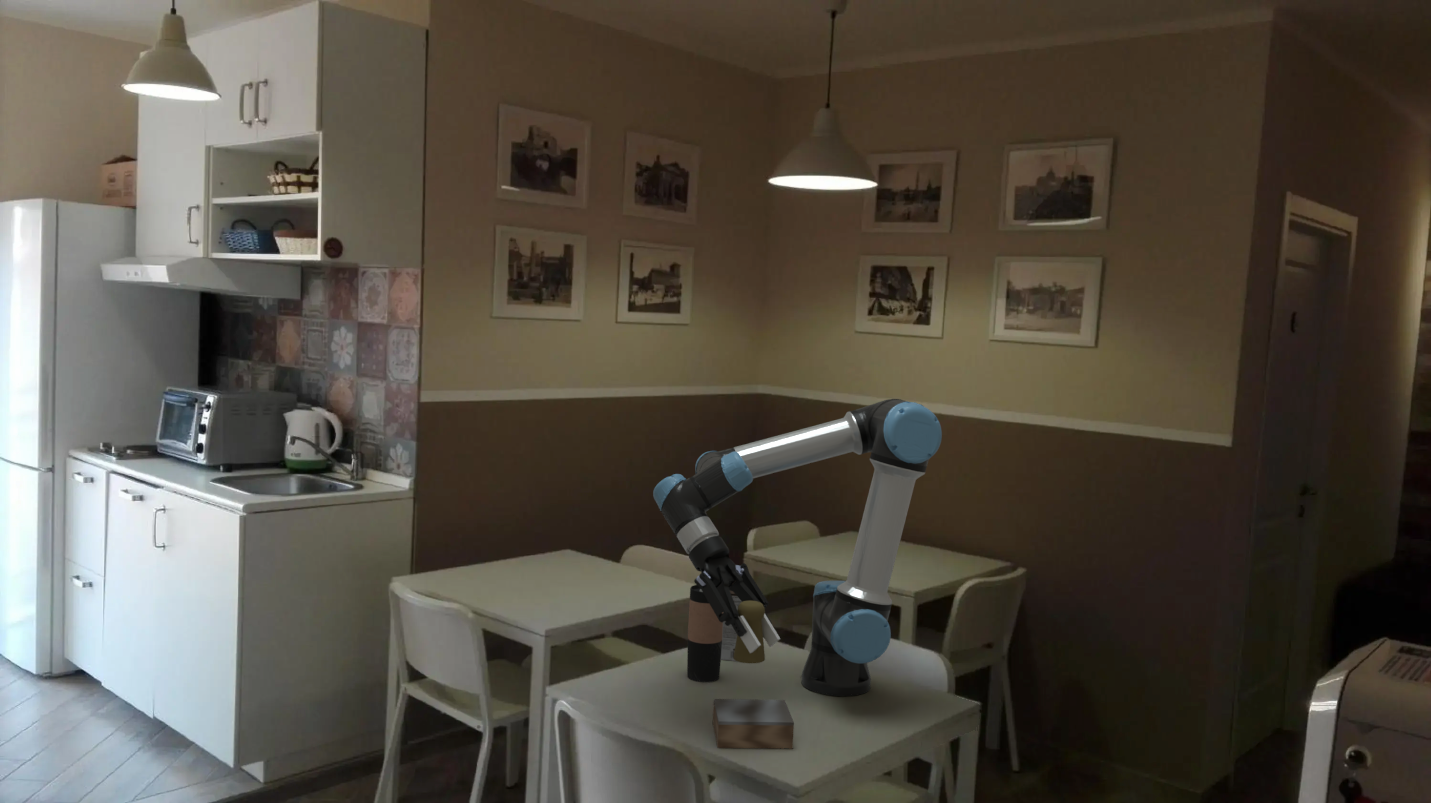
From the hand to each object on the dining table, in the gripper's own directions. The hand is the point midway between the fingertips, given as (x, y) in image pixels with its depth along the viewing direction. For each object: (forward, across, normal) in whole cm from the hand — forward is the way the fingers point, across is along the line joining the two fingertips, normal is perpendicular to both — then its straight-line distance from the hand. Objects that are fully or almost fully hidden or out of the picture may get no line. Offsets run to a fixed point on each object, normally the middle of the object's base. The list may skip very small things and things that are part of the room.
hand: (765, 645), depth 204 cm
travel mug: (-9, -19, -36) cm, 41 cm away
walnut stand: (+11, 0, -15) cm, 18 cm away
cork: (0, 0, -5) cm, 5 cm away
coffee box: (-13, -36, -39) cm, 55 cm away
